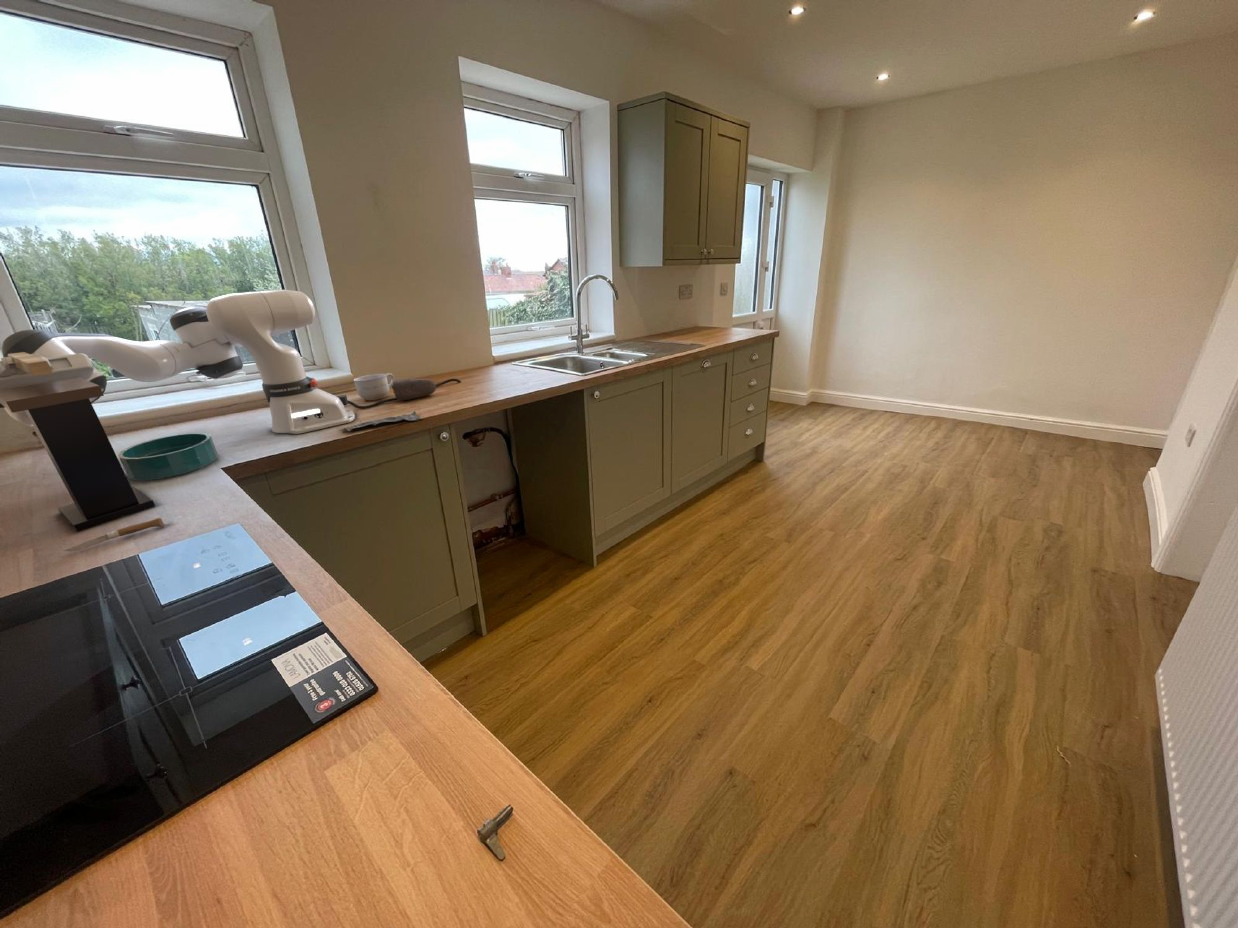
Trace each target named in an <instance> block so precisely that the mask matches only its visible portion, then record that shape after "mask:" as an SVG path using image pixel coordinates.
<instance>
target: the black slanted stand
mask: <svg viewBox="0 0 1238 928" xmlns="http://www.w3.org/2000/svg"><path fill="white" fill-rule="evenodd" d="M100 396H101V397H104V396H105V395H104V393H103V392H102V390H101V388H100V386H99V385H97V384H94V383H92V382H89V381H87V380H84V379H82V378H79V377H77V378H71V379H65V380H59V381H52V382H46V383H40V384H34V385H27V386H21V387H15V388H9V389H2V390H0V403H1V404H2V405H3V406H4V407H6V408H7V409H8V410H9V411H11V412H12V413H14V412H19V411H24V410H25V412H26V414H27V416H28V418H29V419H30V421H31V423H32V425H31V426H32V427H33V429H34V431H35V432H36V434H37V436H38V439H39V441H40V442H41V443H42V445H43V448H44V449H45V451H46V454H47V455H48V457H49V459H50V460H51V462H52V464H53V466H54V468H55V469H56V472H57V474H58V476H59V477H60V480H61V482H62V483H63V485H64V487H65V488H66V490H67V492H68V494H69V496H70V498H71V500H72V501H73V503H68V504H67V505H62V506H59V507H57V509H58V512H59V513H60V514H61V516H62V517H63V518H64V519H65V520H66V521H67V522H68V523H69V525H71V527H72V528H73V529H74V530H75V531H76V532H77V533H78V532H80V531H84V530H87V529H90V528H93V527H97V526H100V525H103V524H105V523H108V522H111V521H115V520H118V519H120V518H124V517H127V516H130V515H133V514H137V513H139V512H142V511H145V510H148V509H151V508H154V507H156V504H155V502H154V500H153V499H152V498H150V497H149V496H148V495H146V494H145V493H144V492H142V491H141V490H139V489H138V488H137V487H135V486H134V485H131V483H130V481H129V479H128V476H127V474H126V472H125V470H124V467H123V465H122V463H121V461H120V459H119V457H118V455H117V453H116V452H115V449H114V447H113V445H112V444H111V442H110V440H109V439H110V438H108V435H107V433H106V431H105V429H104V426H103V425H102V423H101V420H100V419H99V416H98V414H97V412H96V410H95V407H94V405H93V403H92V404H91V402H90V400H89V398H94V397H100ZM101 397H100V398H101Z"/></svg>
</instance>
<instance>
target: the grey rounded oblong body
mask: <svg viewBox="0 0 1238 928" xmlns="http://www.w3.org/2000/svg"><path fill="white" fill-rule="evenodd" d="M436 384H437V383H435V382H434V381H433V380H431V379H427V378H411V379H407V380H397V381H396V380H395V381H394V382H393V385H392V386H391V389H392V391H393V392H392V393H393V394H394V396H395V397H394V398H397V399H398V400H397V401H408V400H415V399H420V398H425V397H428V396H431V395H432V394H434V393H435V392H436V390H437V387H436Z"/></svg>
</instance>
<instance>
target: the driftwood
mask: <svg viewBox="0 0 1238 928" xmlns="http://www.w3.org/2000/svg"><path fill="white" fill-rule="evenodd" d="M404 420H405V421H420V416H418V413H417V411H416V410H413V412H412V413H409V414H406V413H405V414H402V415H397V416H387V417H384V418H379V419H375V420H374V419H373V420H368V421H365V422H362V421H359V422H360V423H357V424H354V425H352V426H345V427H343V429H344V430H346V431H348V432H351V431H352V430H353V429H357V428H362V427H363V428H364V427H365V426H368V425H373V426H376V425H378V424H380V423H381V424H382V423H386V422H387V423H388V422H390V423H391V422H400V421H404Z"/></svg>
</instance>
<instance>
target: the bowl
mask: <svg viewBox="0 0 1238 928" xmlns="http://www.w3.org/2000/svg"><path fill="white" fill-rule="evenodd" d="M218 457H219V453H218V451H217V449H216V446H215V443H214V440H213V438H212V436H211V435H210V434H209V433H207V432H188V433H179V434H173V435H166V436H162V437H157V438H153V439H150V440H147V441H142V442H140V443H137V444H134V445H131V446H129V447H127V448H124V449H123V450H121V451H120V452H118V454H117V458H118V460H119V462H120V464H121V466H122V468H123V470H124V472H125V474H126V476H127V478H129V479H130V480H134V481H150V480H161V479H166V478H167V479H168V478H172V477H176V476H180V475H183V474H187V473H190V472H193V471H197V470H198V469H201V468H204V467H205V466H207V465H210V464H212V463H213V462H215V461H216V460H217V459H218Z"/></svg>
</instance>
